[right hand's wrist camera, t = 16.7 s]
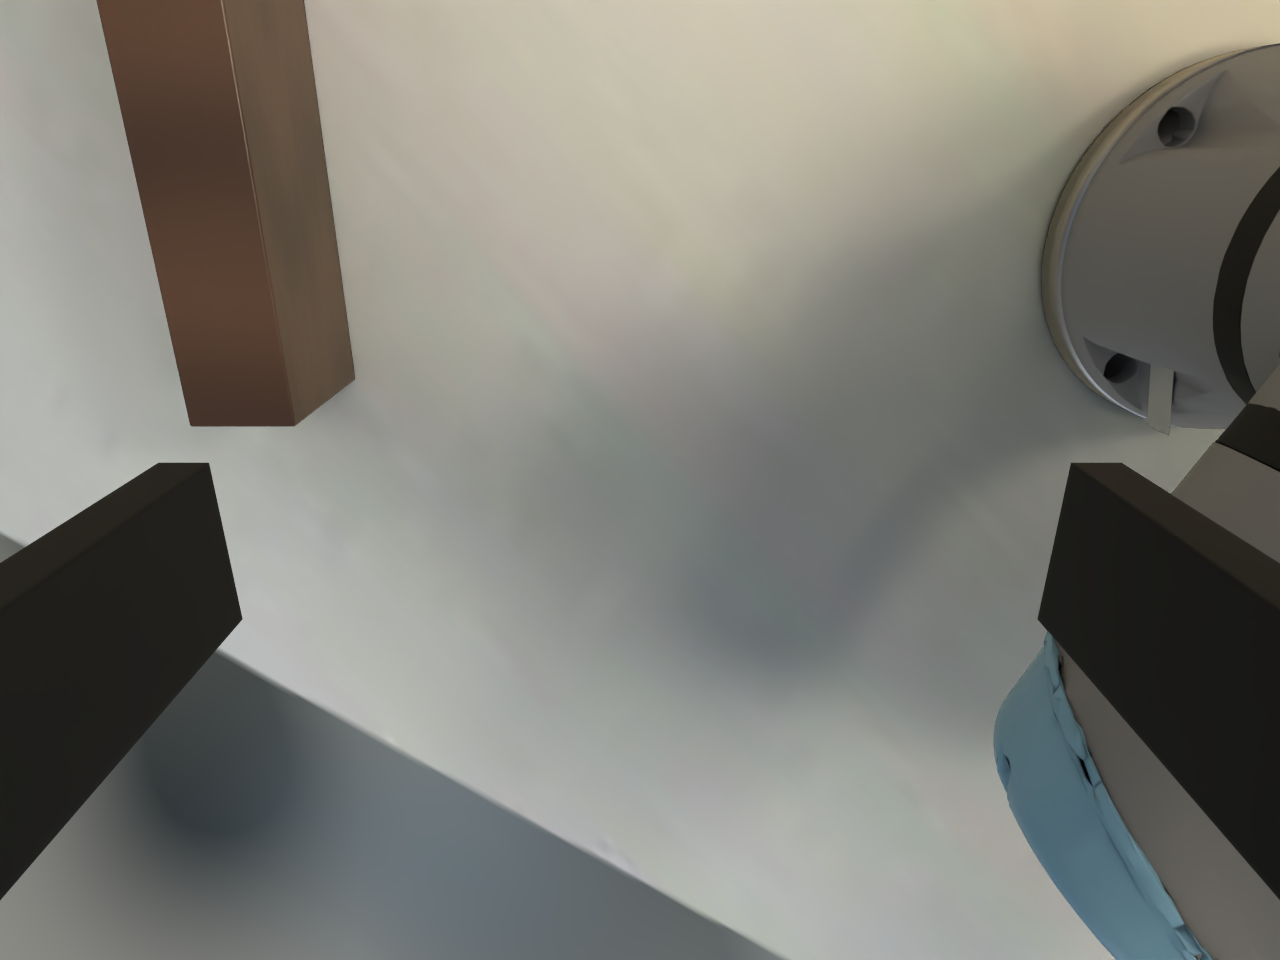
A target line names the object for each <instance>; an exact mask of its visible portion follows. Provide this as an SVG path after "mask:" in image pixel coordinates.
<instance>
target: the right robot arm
mask: <svg viewBox="0 0 1280 960" xmlns="http://www.w3.org/2000/svg"><path fill="white" fill-rule="evenodd" d="M1042 298H1043V305H1044V311H1045V316H1046V320H1047V323H1048V327H1049V330H1050V333H1051V335H1052V338H1053V340H1054V343H1055V345H1056V347H1057V349H1058V350H1059V352H1060V354H1061V356H1062V358H1063V359H1064V361H1065V362H1066V363H1067V365H1068V366H1069V368H1070V369H1071V370H1072V371H1073V372H1074V373H1075V375H1076V376H1077V377H1078V378H1079V379H1080V380H1081V381H1082V382H1083V383H1084V384H1086V385H1087V386H1088V387H1089V388H1090V389H1091V390H1093V391H1094V392H1096V393H1097V394H1099V395H1100V396H1102V397H1103V398H1105V399H1107V400H1109V401H1111V402H1112V403H1114V404H1116V405H1118V406H1120V407H1122V408H1124V409H1126V410H1128V411H1130V412H1132V413H1134V414H1136V415H1138V416H1140V417H1143V418H1146V419H1147V425H1149V426H1151V427H1153V428H1155V429H1157V430H1159V431H1160V432H1162V433H1164V434H1166V435H1168V436H1169V431H1170V425H1172V426H1179V427H1189V428H1202V429H1226V430H1225V431H1224V433H1223V434H1222V435H1221V436H1220V437H1219V439H1218V440H1216V441H1215V442H1213V444H1212V445H1211V446H1210V447H1209V448H1208V450H1207V451H1206V452H1205V453H1204V455H1203V456H1202V457H1201V458H1200V459H1199V461H1198V462H1197V463H1196V464H1195V466H1194V467H1193V468H1192V469H1191V470H1190V472H1189V473H1188V474H1187V475H1186V477H1185V478H1184V479H1183V480H1182V481H1181V483H1180V484H1179V485H1178V486H1177V488H1176V489H1175V490H1174V491H1173V492H1172V494H1170V493H1168V492H1167V491H1165V490H1163V489H1162V488H1160V487H1159V486H1157V485H1156V484H1154V483H1152V482H1151V481H1149V480H1148V479H1146V478H1145V477H1143V476H1141V475H1140V474H1138V473H1137V472H1135V471H1134V470H1132V469H1130V468H1129V467H1127V466H1126V465H1124V464H1122V463H1071V466H1070V470H1069V475H1068V480H1067V484H1066V489H1065V494H1064V498H1063V503H1062V508H1061V512H1060V517H1059V522H1058V526H1057V531H1056V536H1055V540H1054V545H1053V550H1052V554H1051V559H1050V564H1049V568H1048V573H1047V578H1046V582H1045V587H1044V592H1043V596H1042V601H1041V606H1040V610H1039V615H1038V620H1039V621H1040V623H1041V624H1042V625H1043V626H1044V627H1045V628H1046V629H1047V631H1048V632H1047V633H1046V637H1045V640H1044V647H1043V648H1042V650H1041V651H1040V652H1039V654H1038V655H1037V656H1036V658H1035V659H1034V660H1033V662H1032V663H1031V665H1030V666H1029V667H1028V669H1027V670H1026V671H1025V673H1024V674H1023V675H1022V677H1021V678H1020V680H1019V681H1018V682H1017V684H1016V685H1015V686H1014V688H1013V689H1012V690H1011V692H1010V693H1009V695H1008V696H1007V697H1006V699H1005V701H1004V702H1003V704H1002V706H1001V708H1000V710H999V713H998V716H997V718H996V722H995V729H994V754H995V759H996V763H997V770H998V774H999V777H1000V779H1001V781H1002V783H1003V786H1004V788H1005V790H1006V792H1007V799H1008V801H1009V806H1010V808H1011V810H1012V812H1013V814H1014V816H1015V818H1016V821H1017V823H1018V824H1019V826H1020V828H1021V830H1022V832H1023V834H1024V836H1025V838H1026V839H1027V841H1028V843H1029V845H1030V846H1031V848H1032V850H1033V851H1034V853H1035V855H1036V856H1037V858H1038V860H1039V861H1040V863H1041V864H1042V866H1043V867H1044V869H1045V870H1046V872H1047V873H1048V875H1049V876H1050V878H1051V879H1052V881H1053V882H1054V884H1055V885H1056V887H1057V888H1058V889H1059V891H1060V892H1061V893H1062V895H1063V896H1064V898H1065V899H1066V900H1067V901H1068V903H1069V904H1070V905H1071V907H1072V908H1073V909H1074V911H1075V912H1076V913H1077V915H1078V916H1079V917H1080V918H1081V919H1082V921H1083V922H1084V923H1085V924H1086V925H1087V927H1088V928H1089V929H1090V930H1091V931H1092V933H1093V934H1094V935H1095V936H1096V938H1097V939H1098V940H1099V941H1100V942H1101V944H1102V945H1103V946H1104V947H1105V948H1106V949H1107V950H1108V951H1109V952H1110V953H1111V954H1112V956H1113V957H1114V958H1115V959H1116V960H1280V44H1274V45H1267V46H1261V47H1256V48H1250V49H1245V50H1239V51H1234V52H1230V53H1227V54H1223V55H1219V56H1215V57H1213V58H1210V59H1207V60H1205V61H1202V62H1199V63H1196V64H1194V65H1192V66H1190V67H1188V68H1186V69H1184V70H1182V71H1180V72H1177V73H1176V74H1174V75H1172V76H1171V77H1169V78H1167V79H1165V80H1164V81H1162V82H1160V83H1159V84H1157V85H1156V86H1154V87H1153V88H1151V89H1150V90H1149V91H1147V92H1146V93H1144V94H1143V95H1141V96H1140V97H1139V98H1138V99H1137V100H1135V101H1134V102H1133V103H1132V104H1131V105H1129V106H1128V107H1127V108H1126V109H1125V110H1124V111H1123V112H1121V113H1120V114H1119V115H1118V116H1117V117H1116V118H1115V119H1114V120H1113V121H1112V122H1111V123H1110V124H1109V125H1108V126H1107V128H1106V129H1105V130H1104V131H1103V132H1102V133H1101V134H1100V136H1099V137H1098V138H1097V139H1096V140H1095V141H1094V143H1093V144H1092V145H1091V147H1090V148H1089V149H1088V151H1087V152H1086V153H1085V155H1084V156H1083V158H1082V159H1081V161H1080V162H1079V164H1078V165H1077V167H1076V169H1075V170H1074V172H1073V173H1072V175H1071V177H1070V179H1069V181H1068V183H1067V185H1066V187H1065V188H1064V190H1063V192H1062V195H1061V197H1060V199H1059V202H1058V204H1057V206H1056V209H1055V211H1054V214H1053V218H1052V221H1051V224H1050V227H1049V230H1048V235H1047V239H1046V243H1045V248H1044V255H1043V263H1042ZM241 620H242V615H241V610H240V606H239V601H238V596H237V592H236V587H235V582H234V578H233V573H232V568H231V564H230V559H229V554H228V550H227V545H226V540H225V536H224V531H223V526H222V522H221V517H220V512H219V508H218V503H217V498H216V494H215V489H214V484H213V480H212V475H211V470H210V466H209V463H158V464H156V465H154V466H153V467H151V468H150V469H148V470H146V471H145V472H143V473H142V474H140V475H139V476H137V477H135V478H134V479H132V480H131V481H129V482H128V483H126V484H124V485H123V486H121V487H120V488H118V489H117V490H115V491H113V492H112V493H110V494H109V495H107V496H105V497H104V498H102V499H101V500H99V501H98V502H96V503H94V504H93V505H91V506H90V507H88V508H87V509H85V510H83V511H82V512H80V513H79V514H77V515H75V516H74V517H72V518H71V519H69V520H68V521H66V522H64V523H63V524H61V525H60V526H58V527H57V528H55V529H53V530H52V531H50V532H49V533H47V534H45V535H44V536H42V537H41V538H39V539H38V540H36V541H34V542H33V543H31V544H30V545H28V546H27V547H25V548H23V549H22V550H20V551H19V552H17V553H16V554H14V555H12V556H11V557H9V558H8V559H6V560H4V561H3V562H1V563H0V900H1V899H2V898H3V896H4V895H5V894H6V893H7V892H8V891H9V889H10V888H11V887H12V886H13V885H14V884H15V882H16V881H17V880H18V879H19V878H20V877H21V875H22V874H23V873H24V872H25V871H26V870H27V869H28V867H29V866H30V865H31V864H32V863H33V862H34V860H35V859H36V858H37V857H38V856H39V855H40V853H41V852H42V851H43V850H44V849H45V848H46V846H47V845H48V844H49V843H50V842H51V841H52V840H53V838H54V837H55V836H56V835H57V834H58V832H59V831H60V830H61V829H62V828H63V827H64V826H65V824H66V823H67V822H68V821H69V820H70V819H71V817H72V816H73V815H74V814H75V813H76V812H77V810H78V809H79V808H80V807H81V806H82V805H83V804H84V802H85V801H86V800H87V799H88V798H89V797H90V795H91V794H92V793H93V792H94V791H95V790H96V788H97V787H98V786H99V785H100V784H101V783H102V781H103V780H104V779H105V778H106V777H107V776H108V775H109V773H110V772H111V771H112V770H113V769H114V768H115V766H116V765H117V764H118V763H119V762H120V761H121V759H122V758H123V757H124V756H125V755H126V754H127V752H128V751H129V750H130V749H131V748H132V747H133V746H134V744H135V743H136V742H137V741H138V740H139V739H140V737H141V736H142V735H143V734H144V733H145V732H146V730H147V729H148V728H149V727H150V726H151V725H152V723H153V722H154V721H155V720H156V719H157V718H158V717H159V715H160V714H161V713H162V712H163V711H164V710H165V708H166V707H167V706H168V705H169V704H170V703H171V701H172V700H173V699H174V698H175V697H176V696H177V694H178V693H179V692H180V691H181V690H182V689H183V687H184V686H185V685H186V684H187V683H188V682H189V681H190V679H191V678H192V677H193V676H194V675H195V674H196V672H197V671H198V670H199V669H200V668H201V667H202V665H203V664H204V663H205V662H206V661H207V660H208V658H209V657H210V656H211V655H212V654H213V653H214V652H215V650H216V649H217V648H218V647H219V646H220V645H221V643H222V642H223V641H224V640H225V639H226V638H227V636H228V635H229V634H230V633H231V632H232V631H233V629H234V628H235V627H236V626H237V625H238V624H239V623H240V621H241Z"/></svg>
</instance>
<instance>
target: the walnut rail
mask: <svg viewBox="0 0 1280 960" xmlns="http://www.w3.org/2000/svg"><path fill="white" fill-rule="evenodd" d="M97 4H98V9H99V13H100V18H101V22H102V27H103V32H104V36H105V41H106V45H107V50H108V54H109V59H110V63H111V68H112V72H113V77H114V81H115V86H116V91H117V95H118V100H119V104H120V109H121V113H122V118H123V122H124V127H125V131H126V136H127V140H128V145H129V150H130V154H131V159H132V163H133V168H134V172H135V177H136V181H137V186H138V190H139V195H140V199H141V204H142V209H143V213H144V218H145V222H146V227H147V231H148V236H149V240H150V245H151V249H152V254H153V258H154V263H155V268H156V272H157V277H158V281H159V286H160V290H161V295H162V299H163V304H164V308H165V313H166V317H167V322H168V327H169V331H170V336H171V340H172V345H173V349H174V354H175V358H176V363H177V367H178V372H179V376H180V381H181V385H182V390H183V395H184V399H185V404H186V408H187V413H188V417H189V422H190V425H191V426H296V425H297V424H298V423H300V422H301V421H302V420H303V419H305V418H306V417H307V416H308V415H310V414H311V413H312V412H314V411H315V410H316V409H317V408H319V407H320V406H321V405H323V404H324V403H325V402H326V401H328V400H329V399H330V398H331V397H333V396H334V395H335V394H337V393H338V392H339V391H340V390H342V389H343V388H344V387H346V386H347V385H348V384H349V383H351V382H352V381H353V380H354V379H355V374H354V367H353V360H352V352H351V345H350V338H349V330H348V323H347V316H346V309H345V301H344V294H343V287H342V279H341V272H340V265H339V257H338V250H337V243H336V235H335V228H334V221H333V213H332V206H331V199H330V191H329V184H328V177H327V169H326V162H325V155H324V147H323V140H322V133H321V125H320V118H319V111H318V103H317V96H316V89H315V81H314V74H313V67H312V60H311V52H310V45H309V38H308V30H307V23H306V16H305V8H304V1H303V0H97Z"/></svg>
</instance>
